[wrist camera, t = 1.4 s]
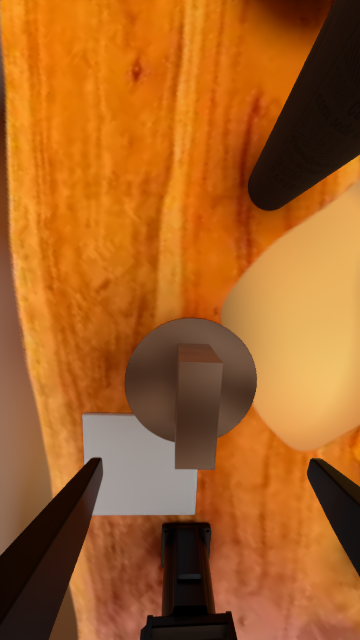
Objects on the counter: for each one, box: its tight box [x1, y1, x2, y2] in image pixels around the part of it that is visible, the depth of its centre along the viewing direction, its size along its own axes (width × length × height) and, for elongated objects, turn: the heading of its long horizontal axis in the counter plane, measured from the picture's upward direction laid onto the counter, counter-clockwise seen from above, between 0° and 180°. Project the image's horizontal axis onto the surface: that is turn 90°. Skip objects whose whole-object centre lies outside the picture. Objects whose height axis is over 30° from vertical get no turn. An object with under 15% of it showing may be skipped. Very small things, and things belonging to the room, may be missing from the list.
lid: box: [125, 318, 257, 470], centre depth 13 cm, size 11×11×5 cm
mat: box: [82, 413, 198, 515], centre depth 21 cm, size 14×14×1 cm
